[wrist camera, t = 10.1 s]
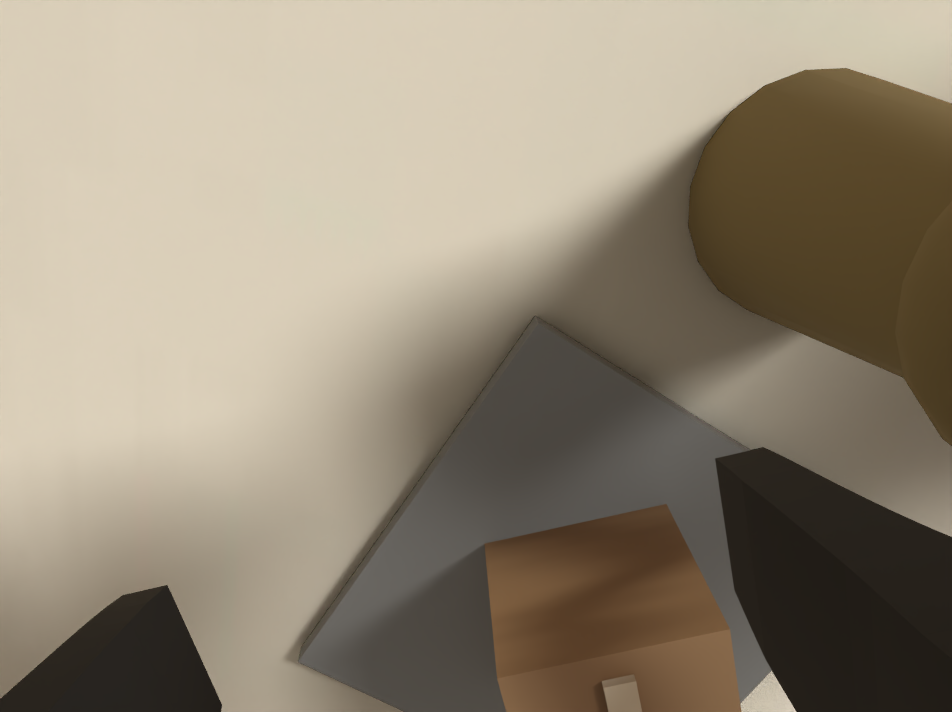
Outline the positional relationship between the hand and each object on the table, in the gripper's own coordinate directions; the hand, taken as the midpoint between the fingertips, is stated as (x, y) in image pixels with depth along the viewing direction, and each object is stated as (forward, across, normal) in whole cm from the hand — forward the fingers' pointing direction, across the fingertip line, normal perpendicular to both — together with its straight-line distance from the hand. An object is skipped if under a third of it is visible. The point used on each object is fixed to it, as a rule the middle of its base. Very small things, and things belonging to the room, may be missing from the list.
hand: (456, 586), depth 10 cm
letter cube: (+10, -2, +8) cm, 13 cm away
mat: (+10, -2, +9) cm, 14 cm away
